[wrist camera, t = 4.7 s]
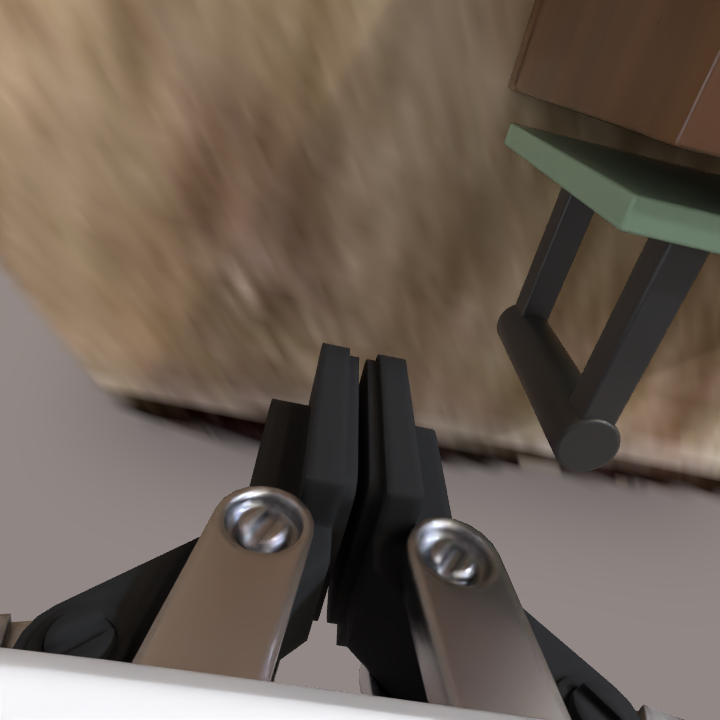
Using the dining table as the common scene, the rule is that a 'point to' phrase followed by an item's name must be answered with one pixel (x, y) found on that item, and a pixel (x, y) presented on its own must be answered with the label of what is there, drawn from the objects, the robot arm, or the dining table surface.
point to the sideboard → (629, 65)
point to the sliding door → (638, 299)
